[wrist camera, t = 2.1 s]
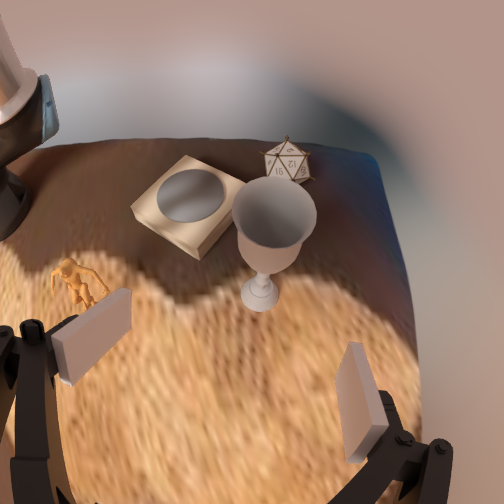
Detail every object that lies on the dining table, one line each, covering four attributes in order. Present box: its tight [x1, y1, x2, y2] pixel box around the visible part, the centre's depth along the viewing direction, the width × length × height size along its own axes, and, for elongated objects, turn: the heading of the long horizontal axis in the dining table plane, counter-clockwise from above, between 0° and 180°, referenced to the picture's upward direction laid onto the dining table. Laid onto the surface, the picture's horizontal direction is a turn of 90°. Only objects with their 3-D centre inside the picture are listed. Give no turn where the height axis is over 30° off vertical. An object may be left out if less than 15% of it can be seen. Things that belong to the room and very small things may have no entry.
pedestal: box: [131, 155, 246, 261], centre depth 43 cm, size 13×13×4 cm
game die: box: [260, 136, 315, 184], centre depth 45 cm, size 9×8×10 cm
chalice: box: [232, 176, 317, 312], centre depth 31 cm, size 7×7×18 cm
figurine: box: [51, 258, 110, 313], centre depth 31 cm, size 8×6×12 cm
